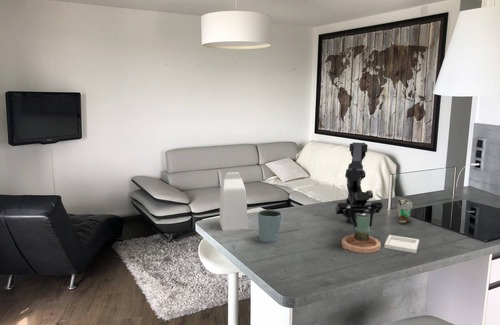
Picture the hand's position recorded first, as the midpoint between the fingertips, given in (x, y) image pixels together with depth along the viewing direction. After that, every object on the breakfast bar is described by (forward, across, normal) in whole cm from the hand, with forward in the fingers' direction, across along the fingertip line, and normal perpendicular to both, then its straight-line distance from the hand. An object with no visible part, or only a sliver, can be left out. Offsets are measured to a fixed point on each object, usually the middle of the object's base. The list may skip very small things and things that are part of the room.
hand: (363, 226), depth 162 cm
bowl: (+6, 0, +8) cm, 10 cm away
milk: (-16, -52, +30) cm, 62 cm away
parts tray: (+7, +17, +7) cm, 20 cm away
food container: (-16, +33, +30) cm, 48 cm away
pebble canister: (+3, 0, +5) cm, 6 cm away
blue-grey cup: (-3, -36, +17) cm, 40 cm away
